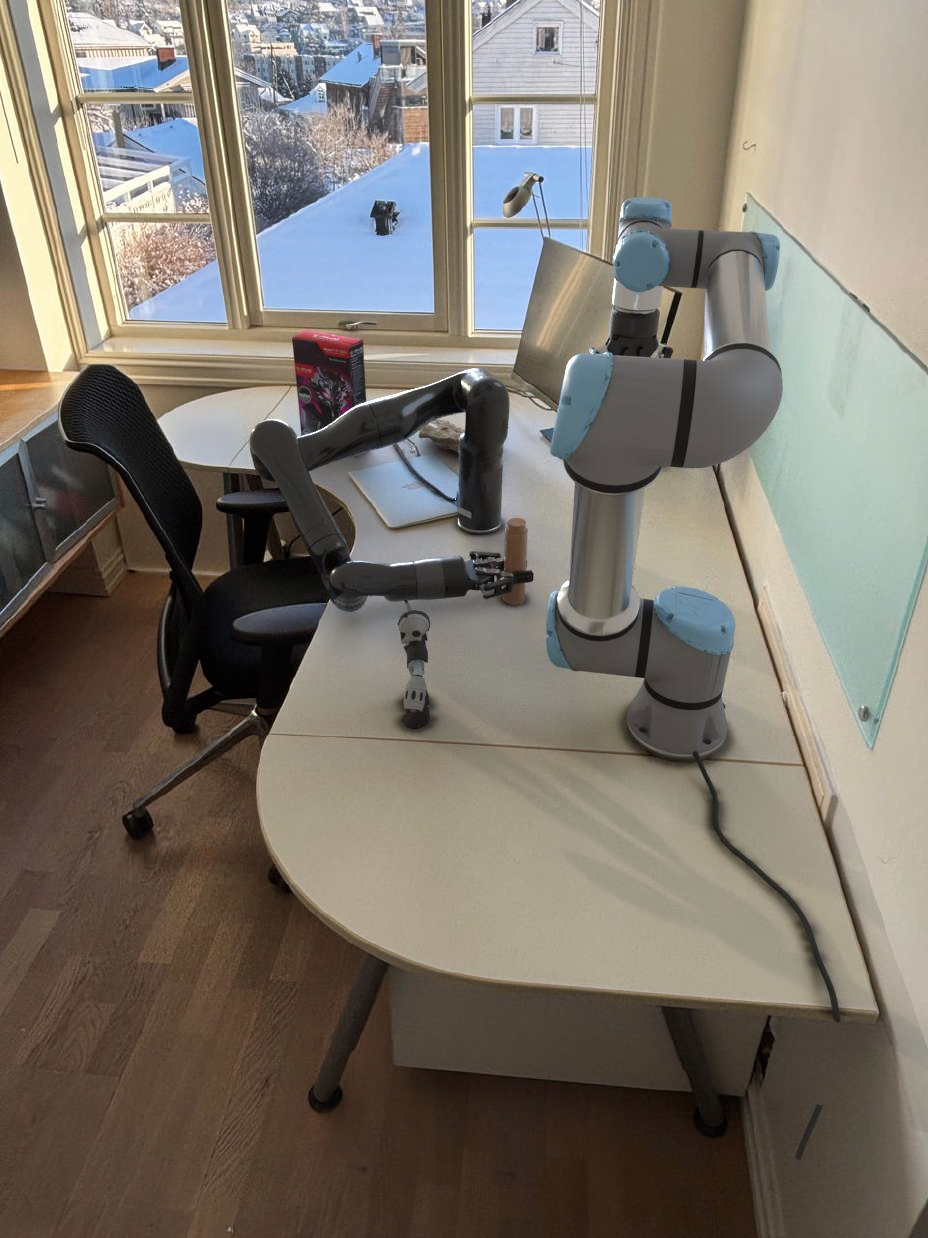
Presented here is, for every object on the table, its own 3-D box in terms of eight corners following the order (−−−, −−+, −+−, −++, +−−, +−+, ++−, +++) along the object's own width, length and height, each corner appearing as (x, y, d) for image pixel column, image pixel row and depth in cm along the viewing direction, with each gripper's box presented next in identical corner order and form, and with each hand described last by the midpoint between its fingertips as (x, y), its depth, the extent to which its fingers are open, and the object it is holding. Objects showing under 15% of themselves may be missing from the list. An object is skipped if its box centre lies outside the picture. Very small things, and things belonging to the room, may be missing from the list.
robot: (432, 752, 138) (431, 644, 127) (400, 753, 138) (395, 645, 127) (430, 673, 154) (428, 571, 143) (401, 674, 154) (397, 571, 143)
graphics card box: (299, 442, 234) (289, 335, 219) (315, 433, 239) (306, 328, 224) (356, 456, 228) (349, 346, 213) (371, 446, 233) (365, 338, 218)
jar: (509, 591, 177) (512, 514, 167) (527, 597, 175) (532, 520, 166) (498, 601, 174) (501, 523, 164) (518, 607, 172) (521, 529, 163)
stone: (402, 443, 226) (407, 419, 224) (421, 434, 240) (426, 412, 237) (483, 468, 223) (489, 444, 220) (497, 458, 236) (503, 435, 234)
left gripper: (432, 576, 176) (519, 567, 179) (445, 616, 165) (538, 606, 168) (432, 541, 172) (521, 533, 175) (445, 580, 161) (540, 571, 163)
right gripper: (680, 298, 147) (662, 435, 160) (573, 303, 144) (563, 442, 157) (699, 311, 141) (678, 453, 154) (588, 316, 138) (576, 460, 151)
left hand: (529, 569), depth 171 cm, fingers closed on jar, 4 cm apart
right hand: (620, 447), depth 156 cm, fingers closed on lid, 5 cm apart
